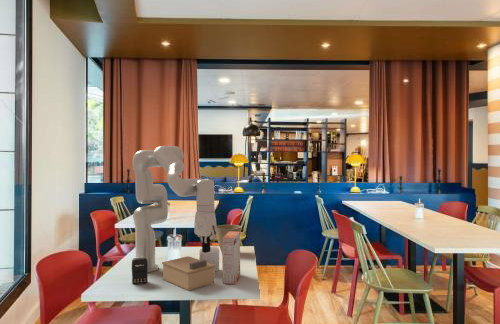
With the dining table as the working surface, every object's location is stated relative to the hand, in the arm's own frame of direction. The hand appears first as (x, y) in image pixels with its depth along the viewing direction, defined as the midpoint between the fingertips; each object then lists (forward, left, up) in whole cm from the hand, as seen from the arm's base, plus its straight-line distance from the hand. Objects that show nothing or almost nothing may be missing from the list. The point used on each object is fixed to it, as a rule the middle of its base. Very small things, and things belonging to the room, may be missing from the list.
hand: (206, 251), depth 155 cm
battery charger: (-28, -16, -17) cm, 36 cm away
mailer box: (-15, +1, -16) cm, 22 cm away
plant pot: (-38, +45, -17) cm, 61 cm away
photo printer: (-20, +17, -17) cm, 31 cm away
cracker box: (-3, +17, -17) cm, 24 cm away
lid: (-15, +1, -9) cm, 17 cm away
